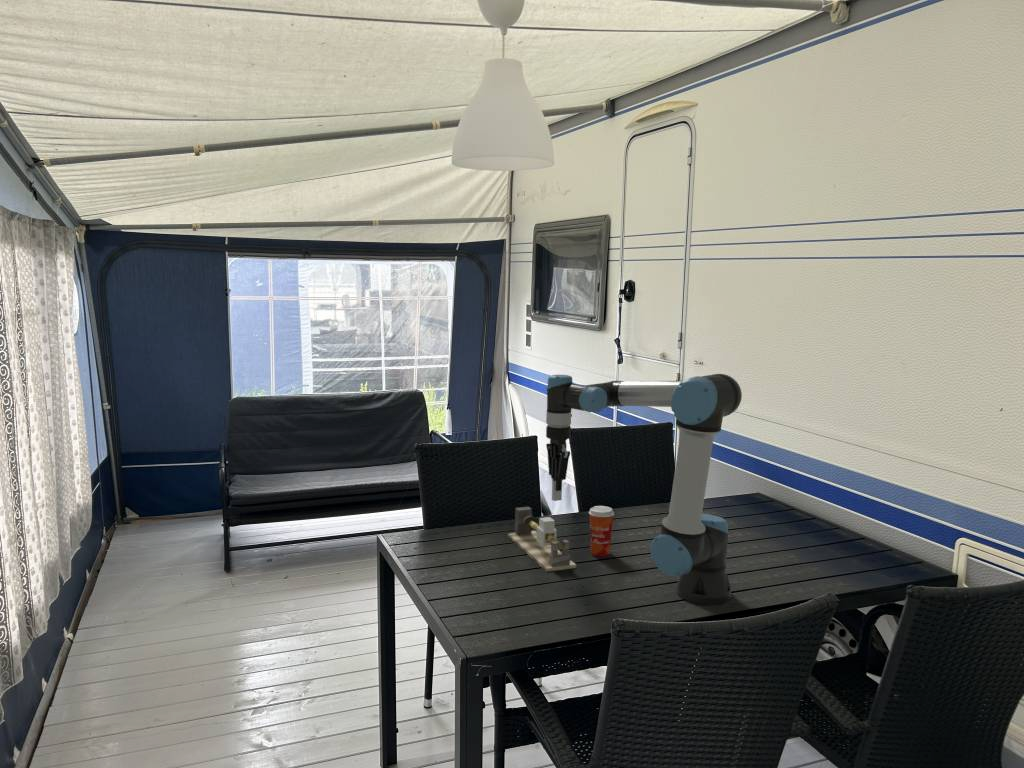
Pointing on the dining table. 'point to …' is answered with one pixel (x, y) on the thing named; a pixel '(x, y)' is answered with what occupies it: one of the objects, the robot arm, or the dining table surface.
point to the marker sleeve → (546, 530)
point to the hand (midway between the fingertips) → (556, 499)
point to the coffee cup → (600, 530)
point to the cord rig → (528, 542)
